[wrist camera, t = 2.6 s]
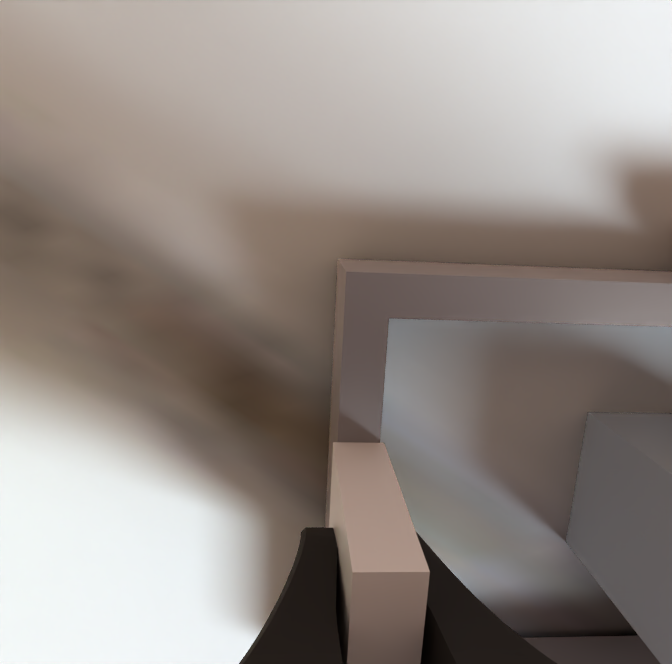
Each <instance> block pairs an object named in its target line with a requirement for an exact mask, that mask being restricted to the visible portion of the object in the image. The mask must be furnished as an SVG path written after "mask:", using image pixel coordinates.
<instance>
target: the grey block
mask: <svg viewBox="0 0 672 664" xmlns="http://www.w3.org/2000/svg"><path fill="white" fill-rule="evenodd" d="M566 543H567V544H568V545H569V547H570V548H571V549H572V550H573V552H574V553H575V554H576V556H577V557H578V558H579V559H580V561H581V562H582V563H583V565H584V566H585V567H586V568H587V570H588V571H589V572H590V574H591V575H592V576H593V577H594V579H595V580H596V581H597V583H598V584H599V585H600V586H601V588H602V589H603V590H604V592H605V593H606V594H607V595H608V597H609V598H610V599H611V601H612V602H613V603H614V604H615V606H616V607H617V608H618V610H619V611H620V612H621V613H622V615H623V616H624V617H625V619H626V620H627V621H628V622H629V624H630V625H631V626H632V628H633V629H634V630H635V631H636V633H637V634H638V635H639V637H640V638H641V639H642V640H643V642H644V643H645V644H646V646H647V647H648V648H649V649H650V651H651V652H652V653H653V655H654V656H655V657H656V658H657V660H658V661H659V662H660V664H672V414H666V413H608V412H588V414H587V420H586V426H585V432H584V438H583V444H582V450H581V455H580V461H579V467H578V473H577V479H576V485H575V490H574V496H573V502H572V508H571V514H570V520H569V526H568V531H567V537H566Z"/></svg>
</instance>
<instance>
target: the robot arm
mask: <svg viewBox="0 0 672 664" xmlns="http://www.w3.org/2000/svg"><path fill="white" fill-rule="evenodd" d="M416 534H417V537H418V540H419V543H420V545H421V548H422V551H423V554H424V557H425V559H426V562H427V565H428V568H429V571H430V576H429V586H428V595H427V605H426V615H425V625H424V634H423V644H422V654H421V664H557V663H556V662H554V661H553V660H551V659H550V658H548V657H547V656H546V655H544V654H543V653H542V652H540V651H539V650H537V649H536V648H535V647H533V646H532V645H531V644H530V643H528V642H527V641H526V640H525V639H523V638H522V637H521V636H520V635H518V634H517V633H516V632H515V631H513V630H512V629H511V628H510V627H508V626H507V625H506V624H505V623H504V622H502V621H501V620H500V619H499V618H498V617H497V616H496V615H495V614H493V613H492V612H491V611H490V610H489V609H488V608H487V607H486V606H485V605H484V604H483V603H482V602H481V601H479V600H478V599H477V598H476V597H475V596H474V595H473V594H472V593H471V592H470V591H469V590H468V589H467V588H466V587H465V586H464V585H463V584H462V583H461V581H460V580H459V579H458V578H457V577H456V576H455V575H454V574H453V573H452V572H451V571H450V570H449V569H448V568H447V566H446V565H445V564H444V563H443V562H442V561H441V560H440V559H439V557H438V556H437V555H436V554H435V553H434V552H433V551H432V549H431V548H430V547H429V546H428V545H427V544H426V543H425V541H424V540H423V539H422V538H421V537H420V536H419V534H418V533H417V532H416ZM336 577H337V543H336V538H335V533H334V529H333V528H305V529H304V530H303V531H302V532H301V540H300V545H299V549H298V552H297V556H296V559H295V562H294V565H293V567H292V570H291V572H290V574H289V577H288V579H287V582H286V584H285V586H284V589H283V591H282V593H281V595H280V597H279V599H278V601H277V603H276V605H275V606H274V608H273V610H272V612H271V614H270V616H269V618H268V620H267V621H266V623H265V625H264V627H263V628H262V630H261V632H260V633H259V635H258V637H257V638H256V640H255V641H254V643H253V644H252V646H251V647H250V649H249V650H248V652H247V653H246V655H245V656H244V657H243V659H242V660H241V662H240V663H239V664H343V662H342V656H341V649H340V642H339V635H338V628H337V617H336Z"/></svg>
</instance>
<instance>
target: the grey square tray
mask: <svg viewBox="0 0 672 664" xmlns="http://www.w3.org/2000/svg"><path fill="white" fill-rule="evenodd" d="M389 318H398V319H431V320H465V321H498V322H531V323H564V324H598V325H631V326H664V327H672V271H646V270H620V269H594V268H569V267H543V266H517V265H491V264H465V263H440V262H414V261H388V260H362V259H338V260H337V282H336V303H335V324H334V345H333V367H332V388H331V409H330V430H329V452H328V473H327V494H326V516H325V528H333V529H334V533H335V538H336V543H337V577H336V617H337V628H338V635H339V642H340V649H341V656H342V662H343V664H421V654H422V644H423V634H424V625H425V615H426V605H427V595H428V586H429V576H430V571H429V568H428V565H427V562H426V559H425V557H424V554H423V551H422V548H421V545H420V543H419V540H418V537H417V534H416V531H415V528H414V526H413V523H412V520H411V517H410V514H409V512H408V509H407V506H406V503H405V500H404V498H403V495H402V492H401V489H400V486H399V483H398V481H397V478H396V475H395V472H394V469H393V467H392V464H391V461H390V458H389V455H388V453H387V450H386V447H385V444H384V443H380V434H381V420H382V406H383V392H384V378H385V364H386V350H387V336H388V322H389ZM523 639H525V640H526V641H527V642H528V643H530V644H531V645H532V646H533V647H535V648H536V649H537V650H539V651H540V652H542V653H543V654H544V655H546V656H547V657H548V658H550V659H551V660H553V661H554V662H556V663H557V664H660V662H659V661H658V660H657V658H656V657H655V656H654V655H653V653H652V652H651V651H650V649H649V648H648V647H647V646H646V644H645V643H644V642H643V640H642V639H641V638H640V637H639V636H593V637H539V638H523Z"/></svg>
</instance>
